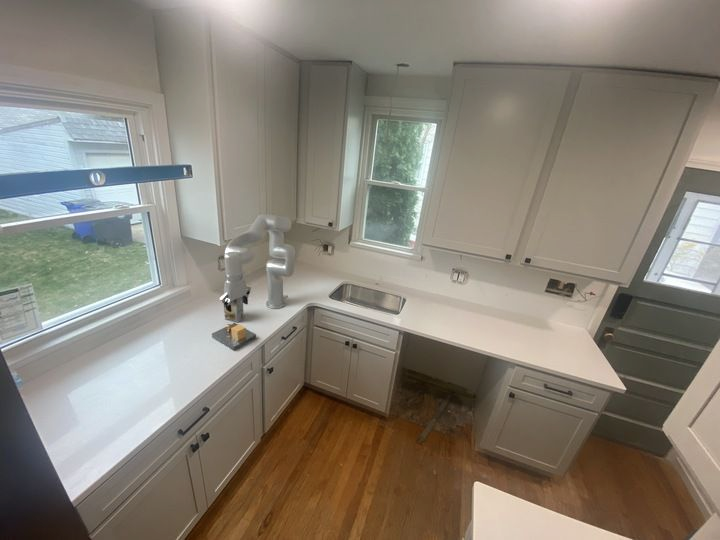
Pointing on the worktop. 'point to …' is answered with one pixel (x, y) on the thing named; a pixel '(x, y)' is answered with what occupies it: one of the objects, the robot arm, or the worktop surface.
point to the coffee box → (235, 310)
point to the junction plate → (227, 339)
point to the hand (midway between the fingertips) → (237, 307)
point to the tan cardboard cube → (238, 332)
